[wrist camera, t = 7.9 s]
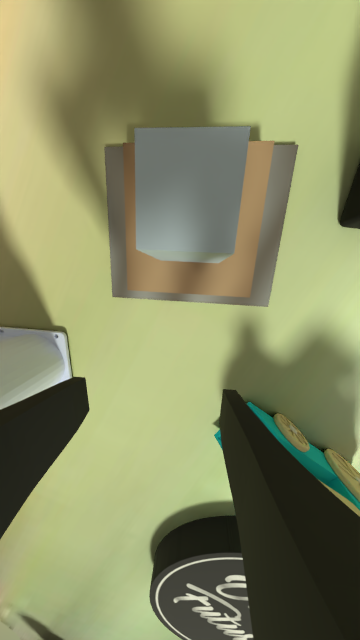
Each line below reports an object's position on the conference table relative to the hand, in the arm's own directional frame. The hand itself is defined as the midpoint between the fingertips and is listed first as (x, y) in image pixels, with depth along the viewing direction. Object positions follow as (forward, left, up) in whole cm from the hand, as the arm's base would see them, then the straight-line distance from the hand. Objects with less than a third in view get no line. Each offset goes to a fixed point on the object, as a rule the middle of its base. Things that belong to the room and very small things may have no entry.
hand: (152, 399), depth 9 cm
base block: (+1, +10, -10) cm, 15 cm away
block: (+1, +10, -8) cm, 13 cm away
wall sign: (+13, -43, -11) cm, 46 cm away
